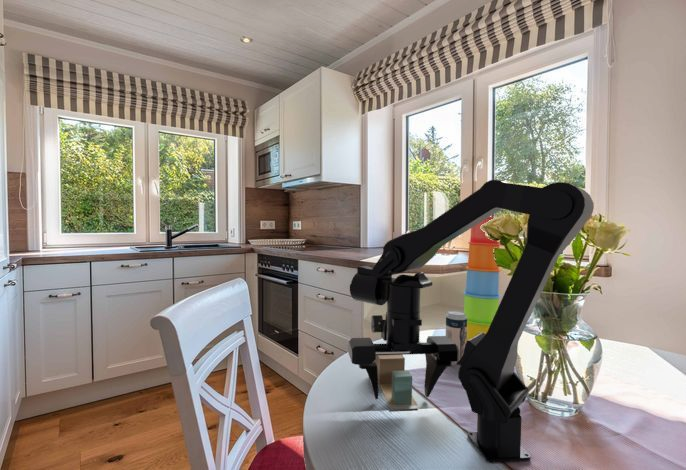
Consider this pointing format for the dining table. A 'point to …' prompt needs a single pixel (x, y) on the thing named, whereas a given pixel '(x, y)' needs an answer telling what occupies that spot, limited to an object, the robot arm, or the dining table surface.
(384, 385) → the green toy block
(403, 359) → the walnut cube
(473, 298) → the stacking cups
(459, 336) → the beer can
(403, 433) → the dining table surface
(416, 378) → the dining table surface
